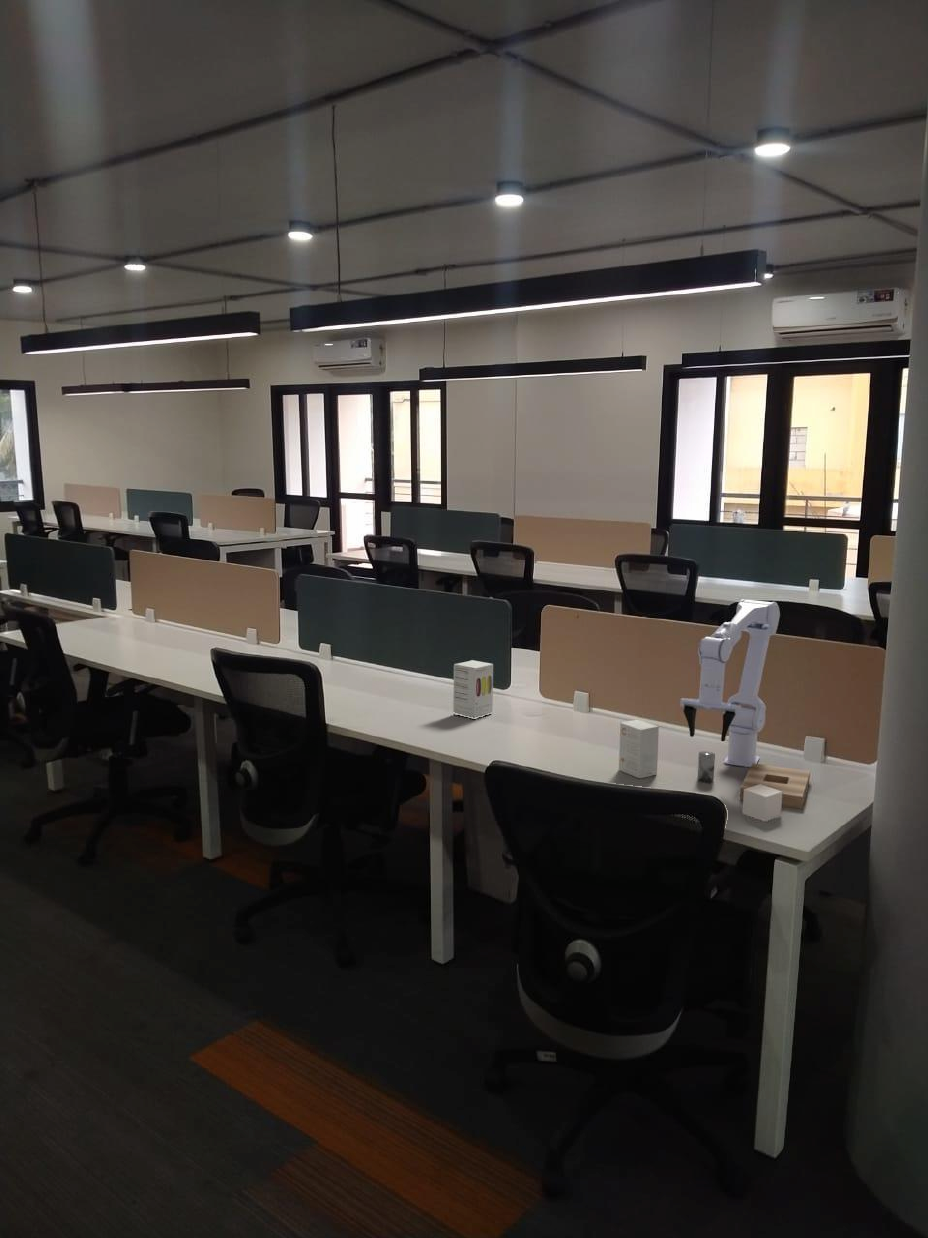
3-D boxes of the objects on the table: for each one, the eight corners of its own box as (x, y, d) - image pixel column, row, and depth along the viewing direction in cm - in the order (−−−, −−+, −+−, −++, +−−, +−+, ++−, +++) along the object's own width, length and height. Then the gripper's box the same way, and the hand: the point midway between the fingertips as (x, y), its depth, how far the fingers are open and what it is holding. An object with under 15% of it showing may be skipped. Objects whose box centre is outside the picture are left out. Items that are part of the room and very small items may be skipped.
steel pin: (699, 776, 229) (700, 750, 228) (714, 779, 227) (716, 752, 226) (695, 781, 225) (697, 754, 224) (712, 783, 224) (713, 757, 223)
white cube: (758, 808, 208) (760, 784, 207) (780, 816, 203) (782, 791, 202) (742, 814, 204) (743, 789, 203) (764, 822, 199) (766, 797, 198)
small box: (657, 775, 230) (659, 726, 228) (639, 779, 227) (641, 729, 225) (635, 766, 237) (637, 718, 235) (617, 770, 234) (619, 722, 231)
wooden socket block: (751, 774, 231) (752, 763, 230) (809, 782, 225) (810, 771, 225) (739, 799, 213) (740, 787, 213) (801, 809, 207) (802, 796, 207)
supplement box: (474, 720, 279) (474, 668, 276) (452, 715, 285) (452, 663, 282) (493, 714, 286) (494, 663, 284) (471, 709, 292) (471, 659, 290)
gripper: (679, 684, 221) (675, 737, 223) (739, 691, 215) (734, 746, 217) (684, 679, 228) (681, 731, 229) (743, 686, 222) (739, 739, 223)
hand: (707, 738), depth 224 cm, fingers open, 7 cm apart
